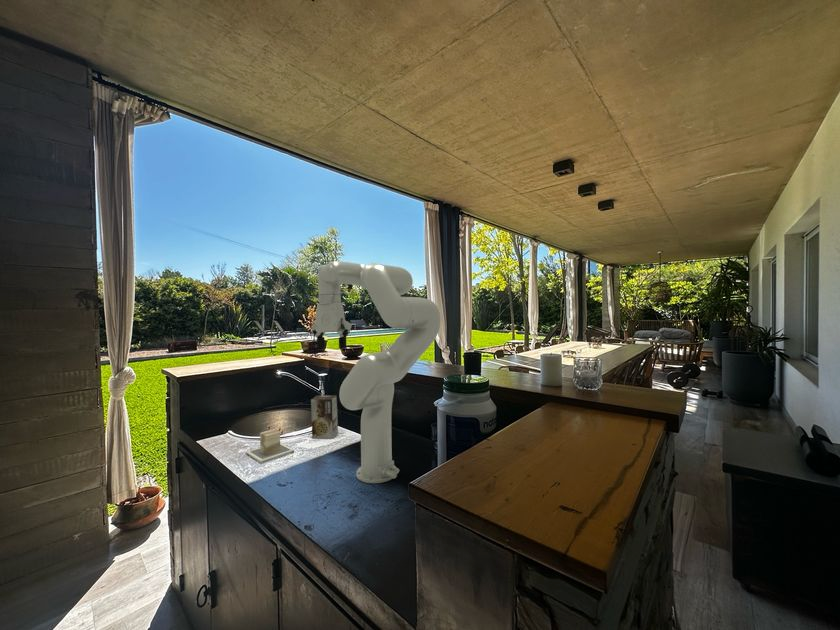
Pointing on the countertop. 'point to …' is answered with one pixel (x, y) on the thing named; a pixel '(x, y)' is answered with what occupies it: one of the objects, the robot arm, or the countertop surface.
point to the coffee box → (324, 416)
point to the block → (270, 442)
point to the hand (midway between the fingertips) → (331, 348)
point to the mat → (263, 458)
